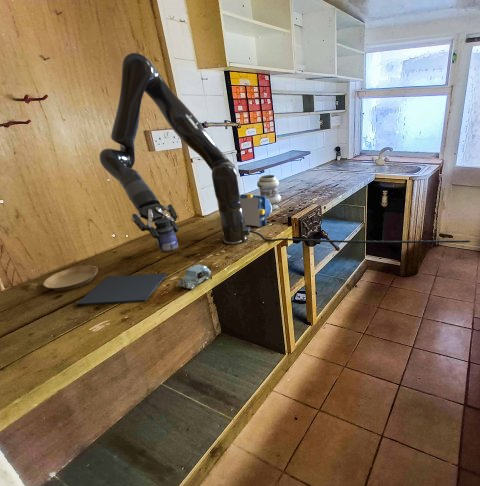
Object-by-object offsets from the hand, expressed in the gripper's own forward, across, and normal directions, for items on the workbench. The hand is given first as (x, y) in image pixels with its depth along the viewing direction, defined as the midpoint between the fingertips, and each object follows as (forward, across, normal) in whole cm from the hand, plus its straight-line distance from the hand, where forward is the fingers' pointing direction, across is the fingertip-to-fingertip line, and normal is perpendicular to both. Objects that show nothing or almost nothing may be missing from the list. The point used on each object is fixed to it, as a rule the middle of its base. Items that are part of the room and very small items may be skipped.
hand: (167, 234), depth 108 cm
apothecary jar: (-5, +68, +25) cm, 73 cm away
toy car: (+21, -2, -2) cm, 21 cm away
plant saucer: (-4, -26, +23) cm, 35 cm away
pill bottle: (+3, 0, +6) cm, 7 cm away
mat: (+9, -17, +9) cm, 22 cm away
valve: (+2, +49, +18) cm, 52 cm away
